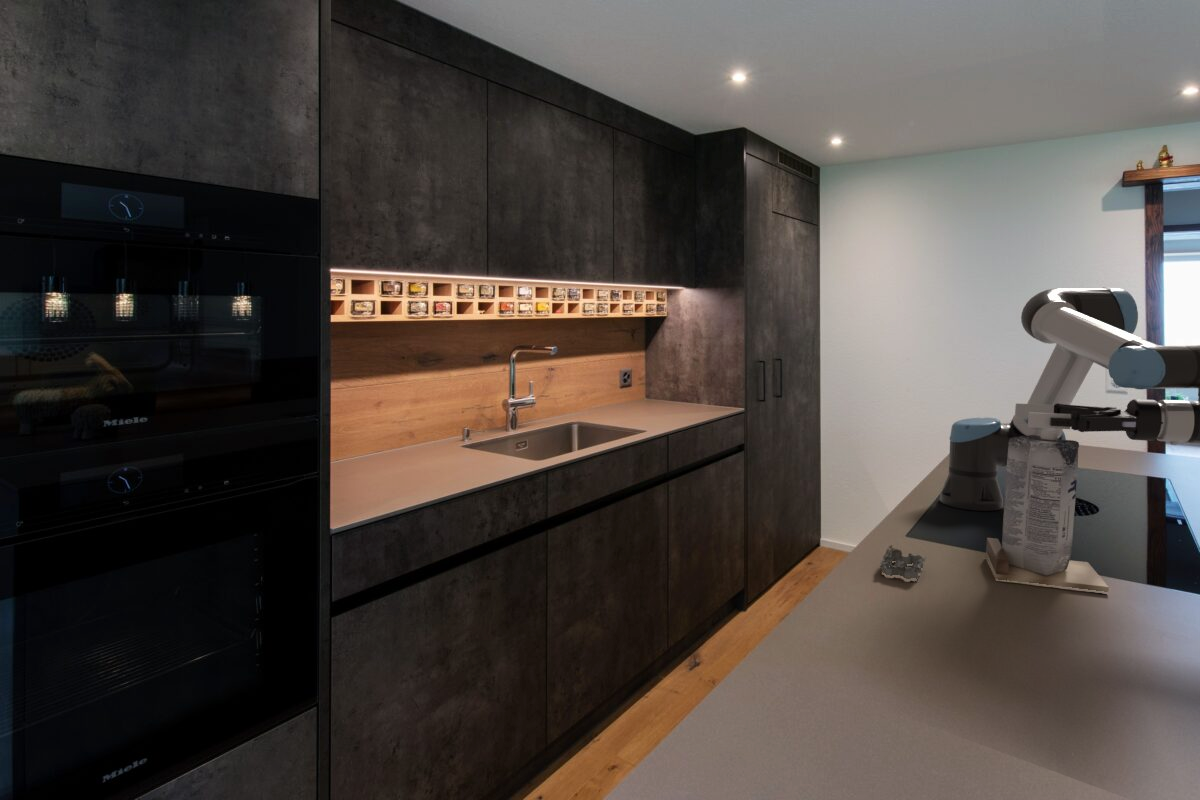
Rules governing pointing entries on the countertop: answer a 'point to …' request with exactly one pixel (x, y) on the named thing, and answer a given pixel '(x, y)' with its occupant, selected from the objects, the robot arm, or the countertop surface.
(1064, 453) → the juice carton
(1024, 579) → the oak board
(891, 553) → the egg carton
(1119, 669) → the countertop surface
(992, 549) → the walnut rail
